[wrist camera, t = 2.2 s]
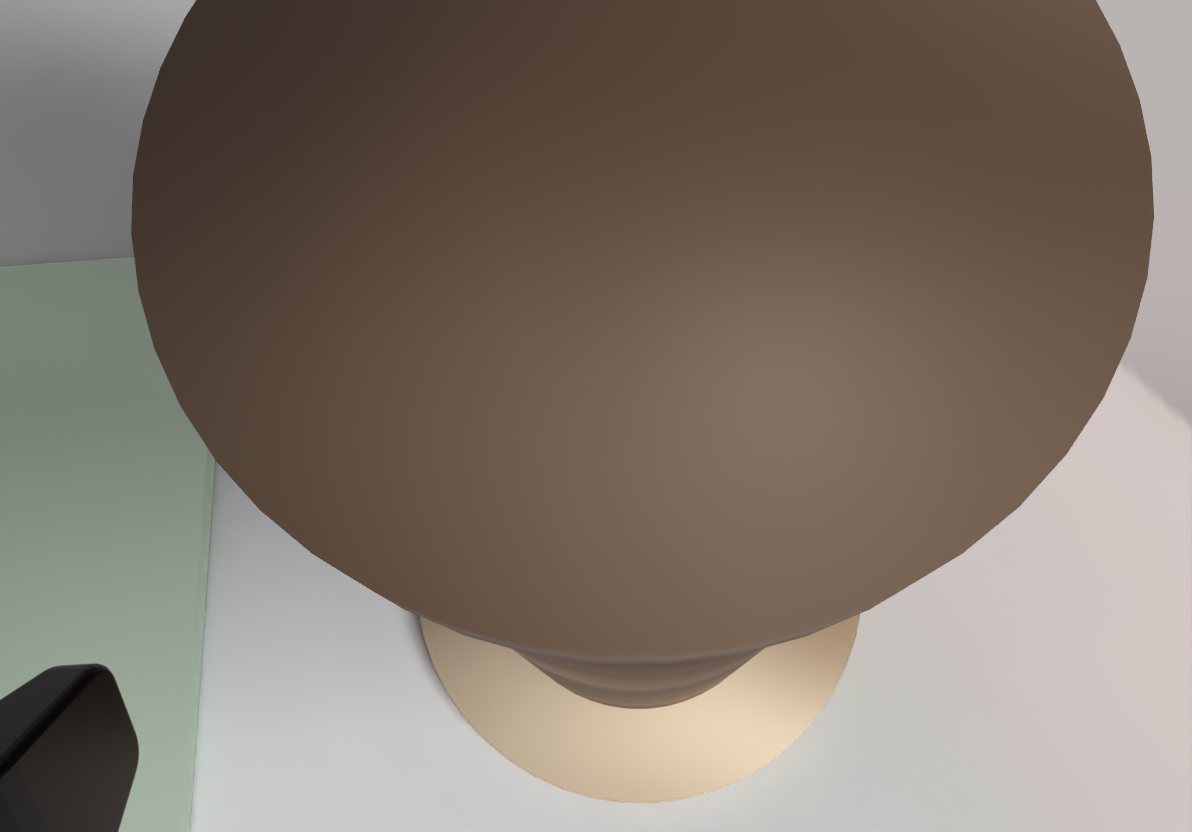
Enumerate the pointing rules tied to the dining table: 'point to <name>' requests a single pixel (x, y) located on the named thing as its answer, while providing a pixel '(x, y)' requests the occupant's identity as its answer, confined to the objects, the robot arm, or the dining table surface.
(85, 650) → the mat
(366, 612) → the dining table surface
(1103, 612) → the dining table surface
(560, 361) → the canister
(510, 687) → the coaster
